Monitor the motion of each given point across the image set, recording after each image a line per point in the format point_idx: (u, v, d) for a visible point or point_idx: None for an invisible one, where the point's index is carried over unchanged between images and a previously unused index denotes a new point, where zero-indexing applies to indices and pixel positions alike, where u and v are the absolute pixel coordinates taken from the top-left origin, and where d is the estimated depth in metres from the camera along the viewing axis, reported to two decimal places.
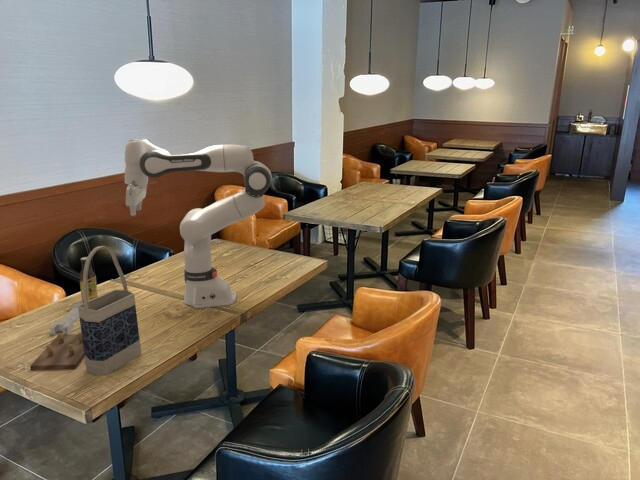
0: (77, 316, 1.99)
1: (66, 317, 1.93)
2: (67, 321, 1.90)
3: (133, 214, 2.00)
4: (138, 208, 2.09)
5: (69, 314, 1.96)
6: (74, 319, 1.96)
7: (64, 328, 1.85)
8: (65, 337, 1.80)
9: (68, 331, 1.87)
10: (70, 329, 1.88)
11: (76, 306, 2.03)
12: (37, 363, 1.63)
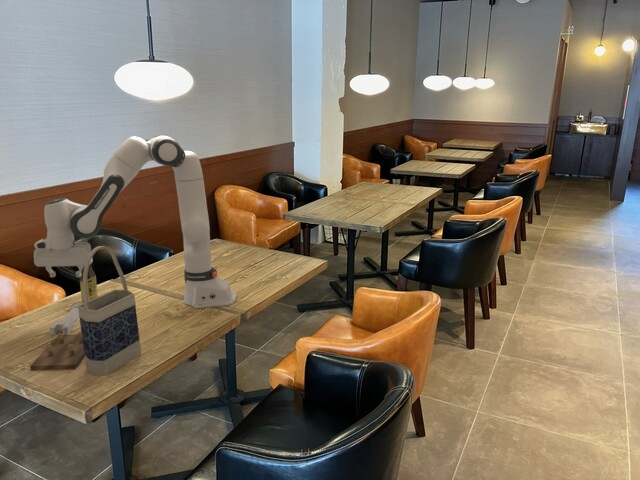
0: (77, 316, 1.99)
1: (66, 317, 1.93)
2: (67, 321, 1.90)
3: (80, 274, 1.93)
4: (54, 274, 1.92)
5: (69, 314, 1.96)
6: (74, 319, 1.96)
7: (64, 328, 1.85)
8: (65, 337, 1.80)
9: (68, 331, 1.87)
10: (70, 329, 1.88)
11: (76, 306, 2.03)
12: (37, 363, 1.63)
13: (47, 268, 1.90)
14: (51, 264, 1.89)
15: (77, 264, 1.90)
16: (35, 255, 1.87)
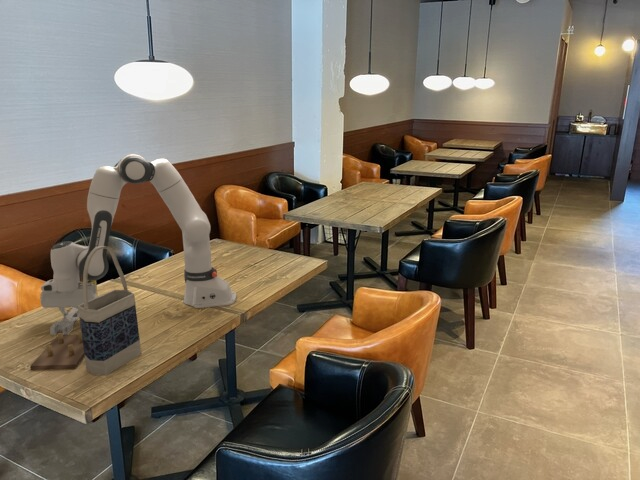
0: None
1: (66, 317, 1.93)
2: (67, 321, 1.90)
3: None
4: None
5: (69, 314, 1.96)
6: (74, 319, 1.96)
7: (64, 328, 1.85)
8: (65, 337, 1.80)
9: (68, 331, 1.87)
10: (70, 329, 1.88)
11: None
12: (37, 363, 1.63)
13: (60, 309, 1.95)
14: (57, 305, 1.94)
15: None
16: (42, 297, 1.92)
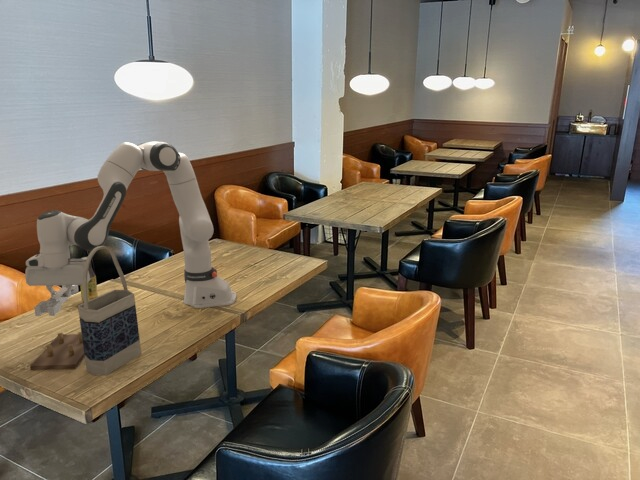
0: None
1: (54, 296, 1.71)
2: (54, 301, 1.68)
3: (69, 294, 1.76)
4: None
5: (58, 293, 1.74)
6: (63, 299, 1.74)
7: (50, 308, 1.63)
8: (65, 337, 1.80)
9: (55, 312, 1.65)
10: (57, 310, 1.66)
11: None
12: (37, 363, 1.63)
13: (48, 287, 1.73)
14: (44, 283, 1.72)
15: (73, 283, 1.73)
16: (27, 273, 1.70)
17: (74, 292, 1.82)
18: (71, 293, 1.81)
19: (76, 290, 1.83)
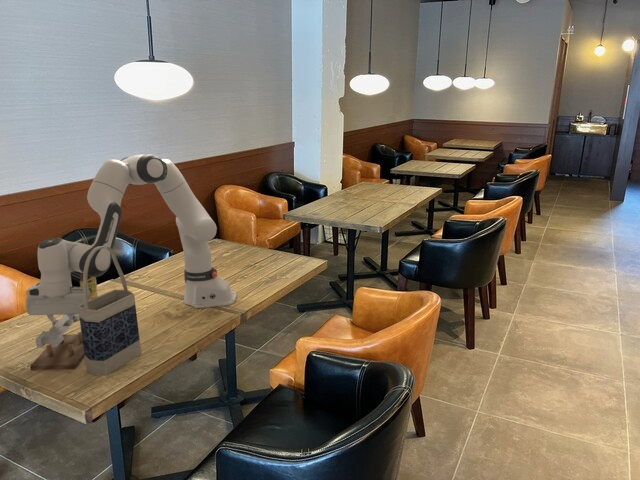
0: None
1: (55, 326, 1.66)
2: (56, 331, 1.63)
3: (71, 323, 1.71)
4: None
5: (59, 323, 1.69)
6: (65, 328, 1.69)
7: (52, 340, 1.58)
8: (65, 337, 1.80)
9: (57, 343, 1.59)
10: (59, 341, 1.61)
11: None
12: (37, 363, 1.63)
13: (49, 316, 1.68)
14: (45, 312, 1.67)
15: (75, 312, 1.67)
16: (27, 303, 1.65)
17: (75, 320, 1.77)
18: (73, 321, 1.76)
19: (78, 318, 1.77)
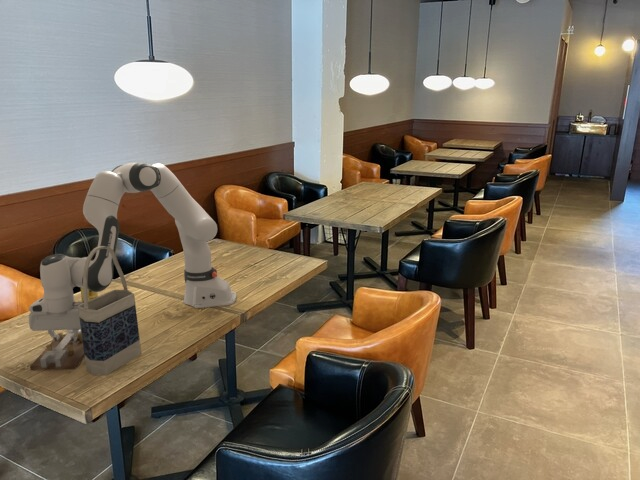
0: (72, 343, 1.74)
1: (59, 345, 1.68)
2: (60, 351, 1.65)
3: (76, 338, 1.72)
4: (58, 338, 1.71)
5: (63, 341, 1.71)
6: None
7: (57, 359, 1.60)
8: None
9: (61, 363, 1.62)
10: (64, 360, 1.63)
11: (71, 331, 1.78)
12: (37, 363, 1.63)
13: (50, 332, 1.69)
14: (48, 328, 1.68)
15: (78, 327, 1.69)
16: (30, 319, 1.66)
17: None
18: None
19: None
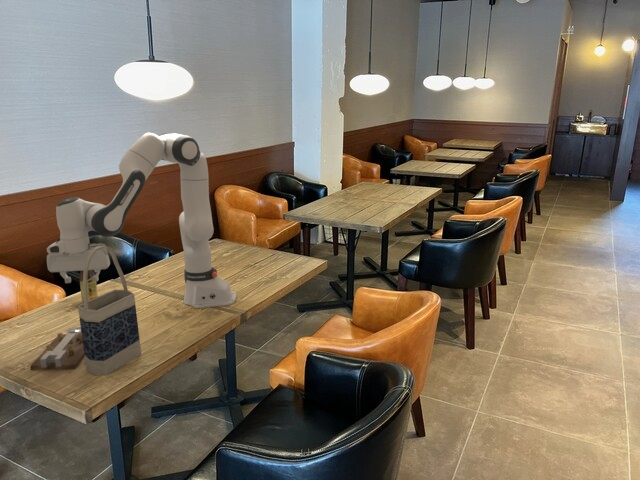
0: (72, 343, 1.74)
1: (59, 345, 1.68)
2: (60, 351, 1.65)
3: (98, 278, 1.80)
4: (70, 279, 1.79)
5: (63, 341, 1.71)
6: None
7: (57, 359, 1.60)
8: None
9: (61, 363, 1.62)
10: (64, 360, 1.63)
11: (71, 331, 1.78)
12: (37, 363, 1.63)
13: (62, 273, 1.77)
14: (66, 269, 1.76)
15: (94, 268, 1.76)
16: (48, 260, 1.74)
17: None
18: (76, 339, 1.78)
19: None
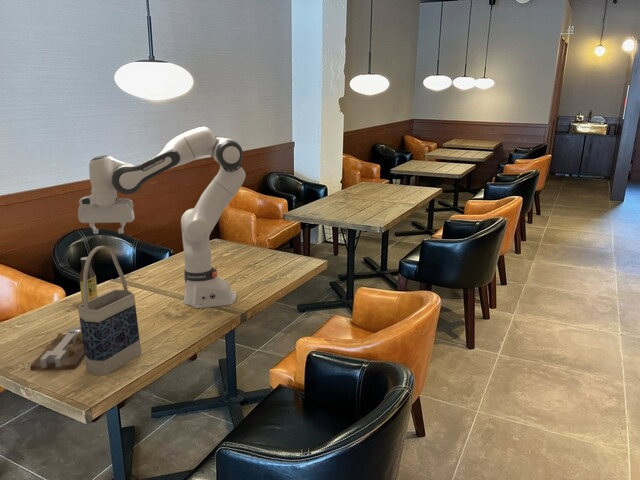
0: (72, 343, 1.74)
1: (59, 345, 1.68)
2: (60, 351, 1.65)
3: (122, 231, 1.98)
4: (97, 231, 1.97)
5: (63, 341, 1.71)
6: None
7: (57, 359, 1.60)
8: None
9: (61, 363, 1.62)
10: (64, 360, 1.63)
11: (71, 331, 1.78)
12: (37, 363, 1.63)
13: (91, 225, 1.95)
14: (95, 220, 1.93)
15: (120, 220, 1.94)
16: (79, 211, 1.92)
17: None
18: (76, 339, 1.78)
19: None
